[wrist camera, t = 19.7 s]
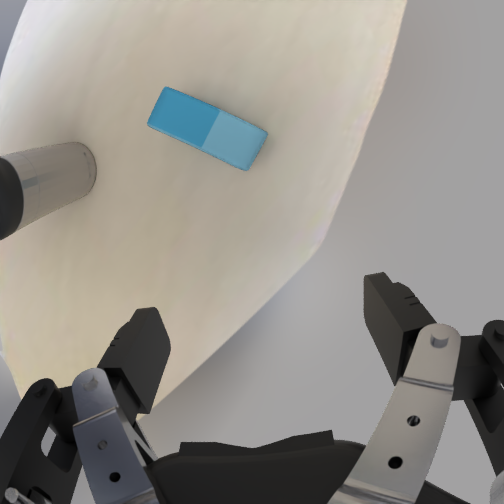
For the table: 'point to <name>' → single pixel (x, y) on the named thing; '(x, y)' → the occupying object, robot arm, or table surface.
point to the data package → (207, 128)
